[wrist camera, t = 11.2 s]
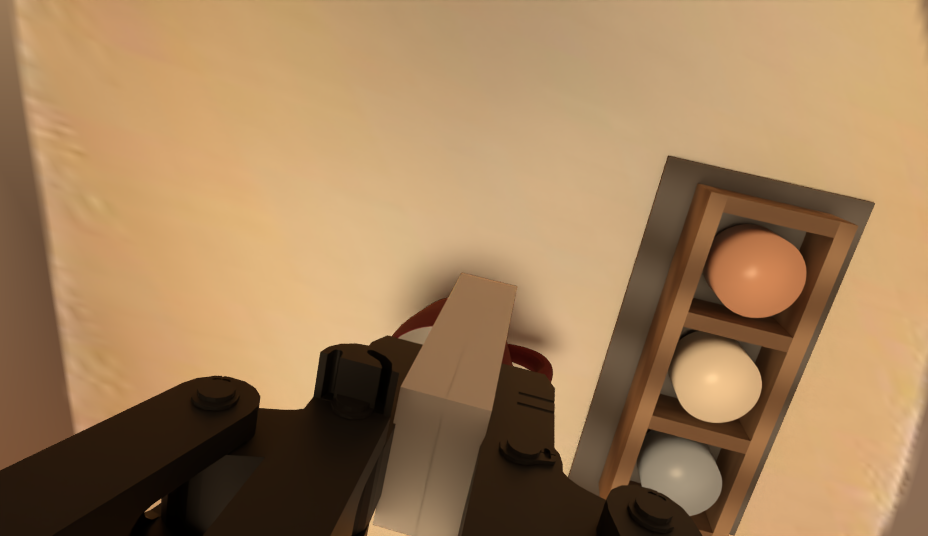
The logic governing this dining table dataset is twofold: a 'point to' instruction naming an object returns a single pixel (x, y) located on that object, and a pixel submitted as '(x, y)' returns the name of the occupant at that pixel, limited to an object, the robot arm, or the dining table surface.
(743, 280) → the brown oval piece
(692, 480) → the slate egg
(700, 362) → the cream egg
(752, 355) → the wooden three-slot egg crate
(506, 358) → the mug
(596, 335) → the dining table surface
